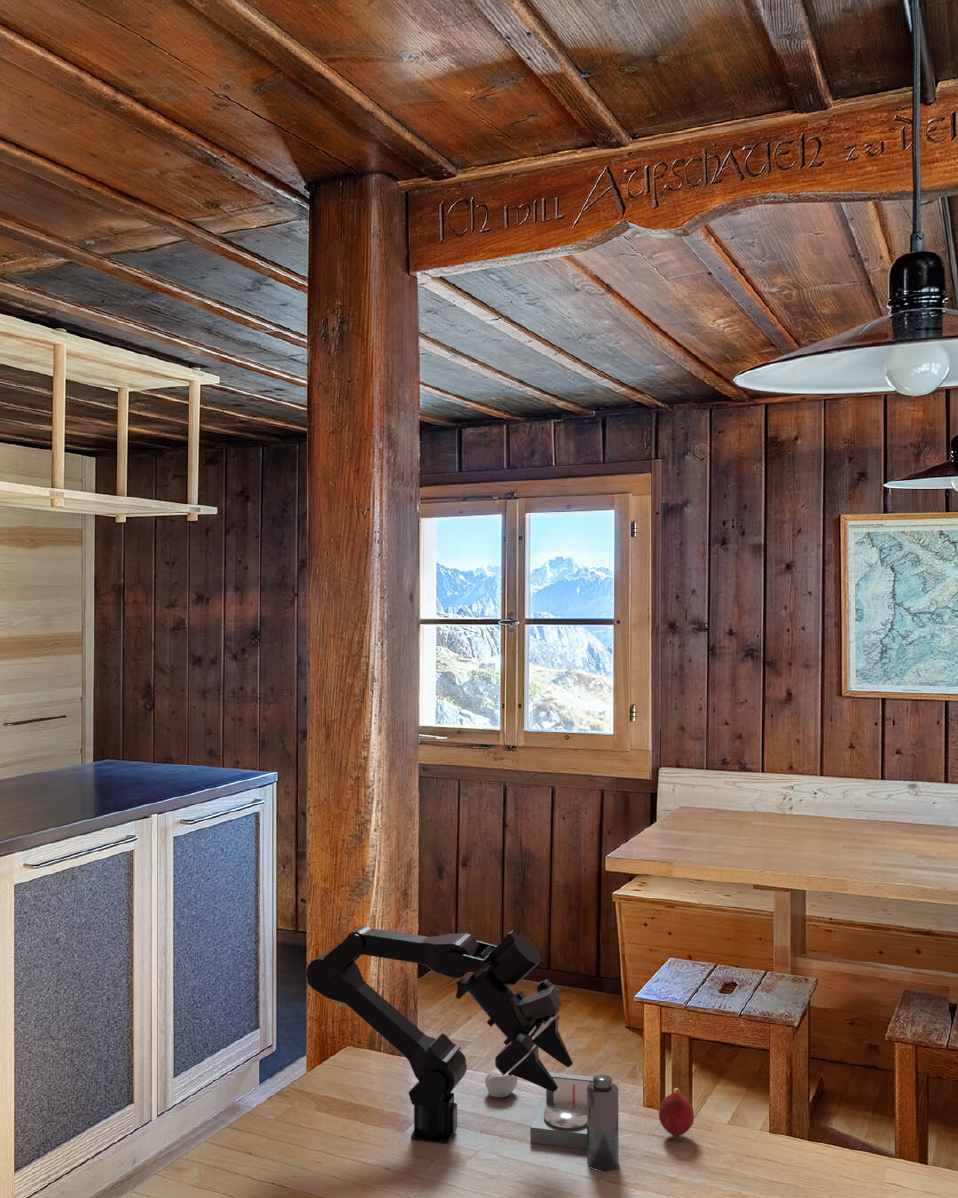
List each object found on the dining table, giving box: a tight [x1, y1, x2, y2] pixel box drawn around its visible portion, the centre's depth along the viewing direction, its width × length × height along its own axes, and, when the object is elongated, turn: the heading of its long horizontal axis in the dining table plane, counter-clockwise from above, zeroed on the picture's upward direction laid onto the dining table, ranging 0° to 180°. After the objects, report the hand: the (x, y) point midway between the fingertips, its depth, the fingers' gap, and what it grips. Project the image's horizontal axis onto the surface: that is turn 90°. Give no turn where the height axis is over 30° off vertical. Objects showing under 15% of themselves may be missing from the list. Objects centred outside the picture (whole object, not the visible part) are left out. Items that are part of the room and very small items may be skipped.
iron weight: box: [586, 1073, 620, 1172], centre depth 169 cm, size 5×5×14 cm
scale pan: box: [544, 1103, 587, 1130], centre depth 179 cm, size 8×8×1 cm
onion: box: [658, 1087, 695, 1138], centre depth 177 cm, size 6×6×8 cm
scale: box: [529, 1071, 594, 1150], centre depth 180 cm, size 11×11×7 cm
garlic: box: [485, 1067, 518, 1098], centre depth 193 cm, size 6×5×5 cm
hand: (563, 1077), depth 171 cm, fingers open, 9 cm apart
